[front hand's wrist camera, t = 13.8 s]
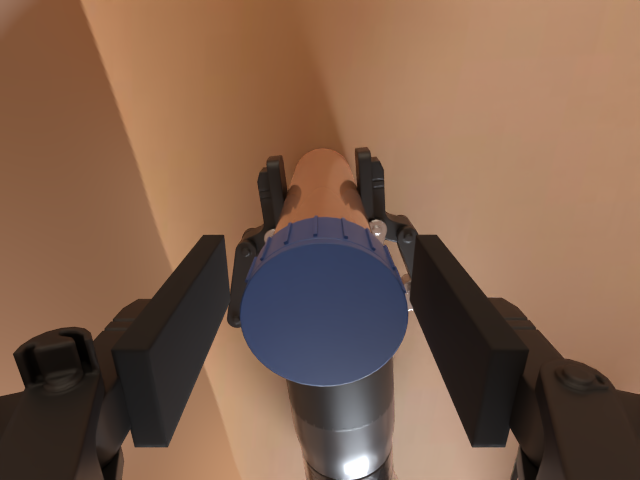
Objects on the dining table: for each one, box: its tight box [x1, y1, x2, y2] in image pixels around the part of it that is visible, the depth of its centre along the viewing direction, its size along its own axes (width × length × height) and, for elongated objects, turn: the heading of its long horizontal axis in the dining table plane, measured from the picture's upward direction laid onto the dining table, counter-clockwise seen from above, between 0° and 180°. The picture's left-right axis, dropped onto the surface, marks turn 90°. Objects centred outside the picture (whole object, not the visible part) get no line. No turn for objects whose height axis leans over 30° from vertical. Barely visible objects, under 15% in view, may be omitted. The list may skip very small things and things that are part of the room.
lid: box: [240, 215, 408, 386], centre depth 12 cm, size 5×5×2 cm
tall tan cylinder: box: [273, 148, 374, 235], centre depth 20 cm, size 4×4×18 cm
